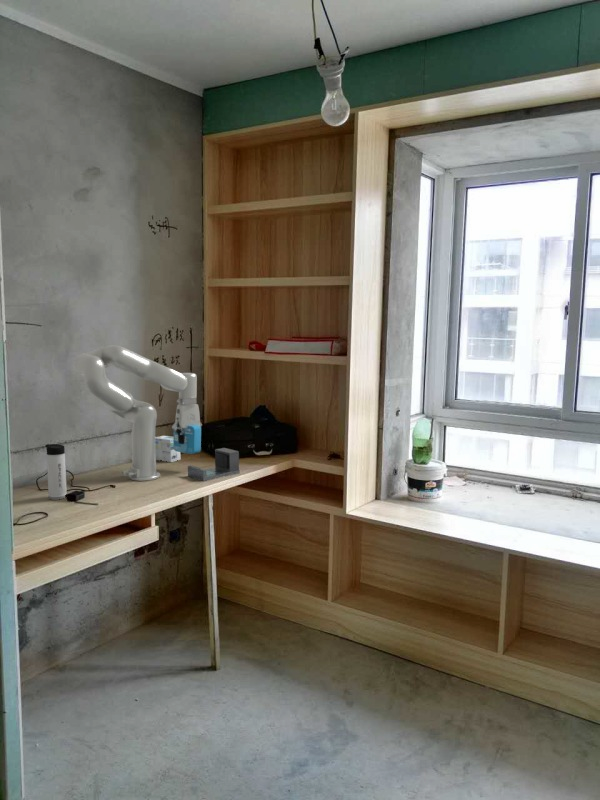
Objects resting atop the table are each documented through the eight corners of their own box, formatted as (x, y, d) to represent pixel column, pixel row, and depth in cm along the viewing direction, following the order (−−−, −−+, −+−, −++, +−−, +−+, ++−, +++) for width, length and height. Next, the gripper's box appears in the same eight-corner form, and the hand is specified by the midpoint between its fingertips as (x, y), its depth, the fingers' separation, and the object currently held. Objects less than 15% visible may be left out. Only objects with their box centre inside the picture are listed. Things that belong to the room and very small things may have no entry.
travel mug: (51, 495, 236) (48, 442, 233) (69, 495, 236) (66, 442, 234) (45, 500, 230) (42, 446, 227) (63, 500, 230) (61, 446, 228)
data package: (173, 451, 276) (173, 423, 275) (180, 449, 280) (180, 422, 279) (193, 454, 270) (194, 426, 269) (200, 453, 274) (201, 425, 272)
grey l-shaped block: (203, 481, 258) (203, 458, 256) (187, 476, 265) (187, 454, 264) (239, 473, 271) (239, 451, 270) (223, 468, 279) (223, 447, 277)
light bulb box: (181, 460, 296) (180, 437, 294) (171, 462, 290) (170, 439, 289) (164, 457, 301) (163, 435, 300) (154, 459, 296) (153, 437, 294)
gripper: (175, 403, 264) (175, 446, 266) (208, 401, 276) (208, 442, 278) (165, 401, 269) (165, 443, 271) (198, 399, 281) (198, 439, 283)
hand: (187, 442), depth 274 cm, fingers closed on data package, 5 cm apart
